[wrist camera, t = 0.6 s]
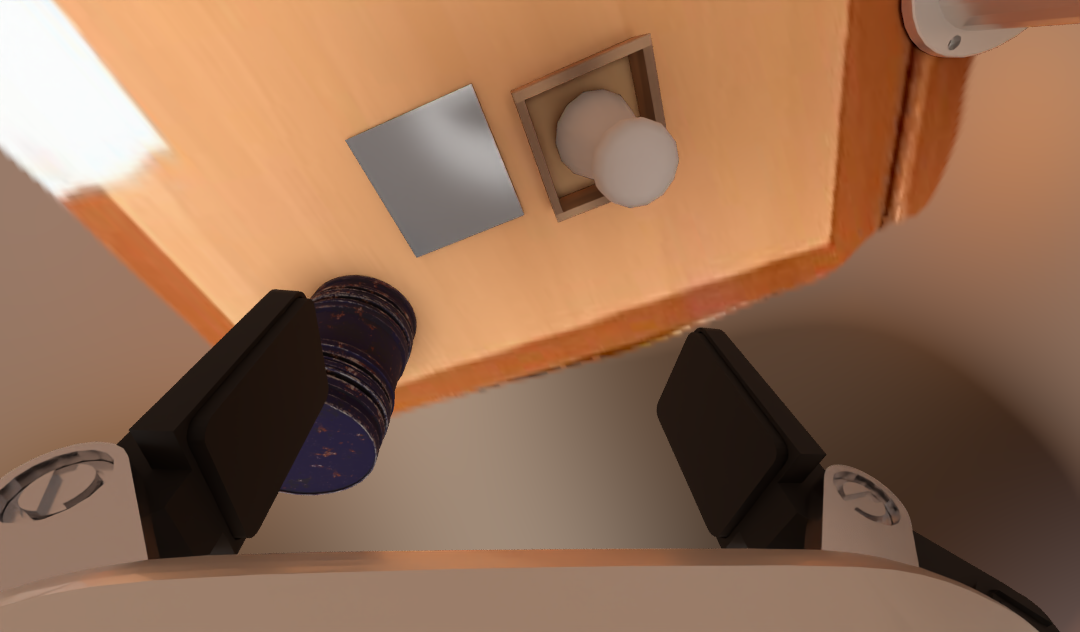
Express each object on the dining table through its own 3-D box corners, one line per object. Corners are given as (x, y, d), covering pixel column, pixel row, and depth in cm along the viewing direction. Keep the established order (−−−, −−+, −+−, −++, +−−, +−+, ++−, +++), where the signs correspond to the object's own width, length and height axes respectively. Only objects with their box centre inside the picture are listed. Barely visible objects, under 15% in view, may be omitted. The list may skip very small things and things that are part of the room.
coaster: (471, 83, 27) (471, 83, 27) (523, 212, 33) (524, 214, 32) (347, 139, 28) (345, 140, 28) (417, 254, 34) (416, 257, 33)
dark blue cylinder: (421, 361, 40) (387, 494, 28) (321, 360, 39) (238, 499, 27) (412, 275, 35) (365, 391, 22) (296, 271, 34) (177, 392, 21)
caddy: (633, 36, 27) (650, 33, 24) (658, 166, 32) (674, 177, 29) (510, 90, 28) (512, 93, 25) (552, 208, 33) (558, 222, 30)
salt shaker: (556, 83, 28) (594, 95, 17) (632, 90, 29) (716, 105, 18) (548, 168, 31) (576, 224, 20) (618, 173, 32) (681, 228, 21)
